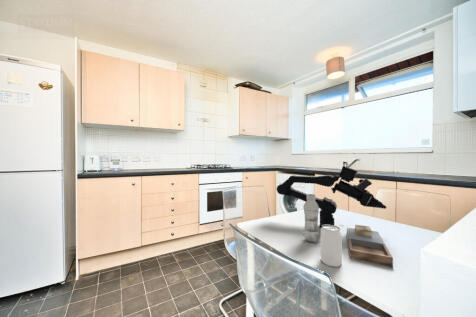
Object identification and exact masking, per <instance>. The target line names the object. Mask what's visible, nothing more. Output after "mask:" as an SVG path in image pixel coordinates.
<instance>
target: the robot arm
mask: <svg viewBox="0 0 476 317" xmlns="http://www.w3.org/2000/svg"><path fill="white" fill-rule="evenodd" d="M358 172H359V171H358V170H356V169H353V168H351V167H347V166H345V165H343V166H342V168H341V170H340V173H339V174H337V175H331V174H325V175H319V176H318V175H317V176H307V175H290V176H289V177H288V178H287V179H286V180H284V182H282V183H280V184H279V185H277V186H276V192H277V193H278V195H282V196H289V197H293V198H295V199H297V200H300V201H303V202H304V203H305V202H306V201H307V199H306V198H307V194H308V193H305V192H303V191H301V190H297V189H295V188H293V187H292V186H293V185H294V184H295V183H297V184H314V185H318V186H319V185H320V186H323V187H327V188H331V191H332V193H333V194H335V193H336V191H337V192H339V193H341V194H343V195H345V196H347V197H349V198H352V199H353V200H355V201H357V202H359V204H360V205H362V206H363V207H366V208H367V207H368V208H377V209H387V206H386V205H385V204H384V203H383V202H381V201H380V200H379V199H376V197H374V194H372V193H371V192H370V191H368V189H367V188H368V187H369V186H372V184H373V182H371V181H370V180H369V179H368V178H364V179H363V178H360V179H358V184H357V185H355V184H350V182H353V181H354V179H355V178H356V176H357V173H358ZM332 186H333V187H332ZM315 198H316V200H315V201H316V203H317V204H318V206H319V210H320V211H319V212H318V214H319V225H318V228H320V229H322V225H334V226H335V218H334V214H335V213H336V211H337V207H338V205H337V203H336V201H334V200H333V199H330V198H328V197H325V196H324V197H323V198H319V197H316V196H315Z"/></svg>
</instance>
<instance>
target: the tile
mask: <svg viewBox="0 0 476 317" xmlns="http://www.w3.org/2000/svg"><path fill="white" fill-rule="evenodd" d="M354 228H355V231H356V234H357V235H364V236H371V237H372V231H373V230H372V228H371V227H370V225H369V226H367V225H363V224H362V225H361V224H355V225H354Z"/></svg>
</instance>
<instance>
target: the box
mask: <svg viewBox="0 0 476 317" xmlns="http://www.w3.org/2000/svg"><path fill="white" fill-rule="evenodd" d="M348 244H349V246H348V252H349V258H350V259H353V260H358V261H363V262H367V263H374V264H377V265H382V266H387V267H394V258H393V256H392V254H391V252H390V250H389V249H388V247H387V245H386V244H382V245H383V250H381V249H375V248H369V247H364V246H358V245H352V243H351V239H347V245H348Z"/></svg>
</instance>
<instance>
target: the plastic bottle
mask: <svg viewBox="0 0 476 317" xmlns="http://www.w3.org/2000/svg"><path fill="white" fill-rule="evenodd" d="M306 194H307V198H306V199H307V201H306V202H305V201H304V204H303V213H304V230H303V238H304V240H305V241H306V242H309V243H317V242H319V241H320V231H319V224H318V220H319V212H320V211H319V210H320V208H319V206H318V204H317V203H316V201H315V200H316V198H317V197H316V194H314V193H312V194H311V193H306ZM315 197H316V198H315Z"/></svg>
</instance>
